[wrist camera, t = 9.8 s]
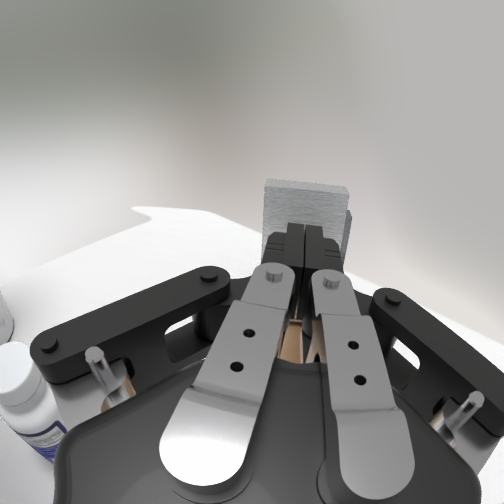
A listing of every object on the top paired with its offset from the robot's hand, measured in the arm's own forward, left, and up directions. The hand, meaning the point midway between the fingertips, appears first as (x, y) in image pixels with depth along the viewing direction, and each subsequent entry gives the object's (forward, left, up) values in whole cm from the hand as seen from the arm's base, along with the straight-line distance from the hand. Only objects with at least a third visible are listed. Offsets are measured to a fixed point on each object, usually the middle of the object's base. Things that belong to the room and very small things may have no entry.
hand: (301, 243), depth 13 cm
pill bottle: (-14, -7, -14) cm, 21 cm away
